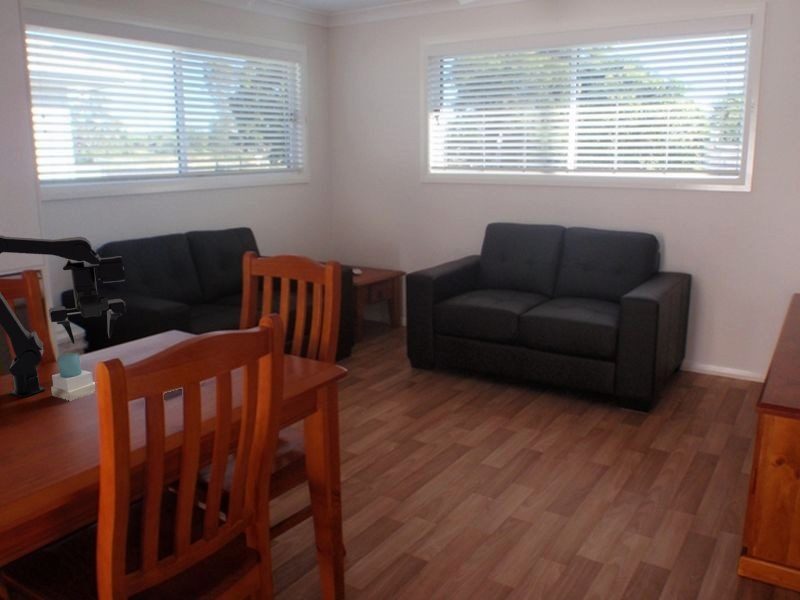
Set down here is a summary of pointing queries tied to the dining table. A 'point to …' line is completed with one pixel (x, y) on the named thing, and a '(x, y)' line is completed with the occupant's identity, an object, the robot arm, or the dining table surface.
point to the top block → (72, 381)
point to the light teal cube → (69, 365)
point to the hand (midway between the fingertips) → (91, 340)
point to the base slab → (73, 392)
